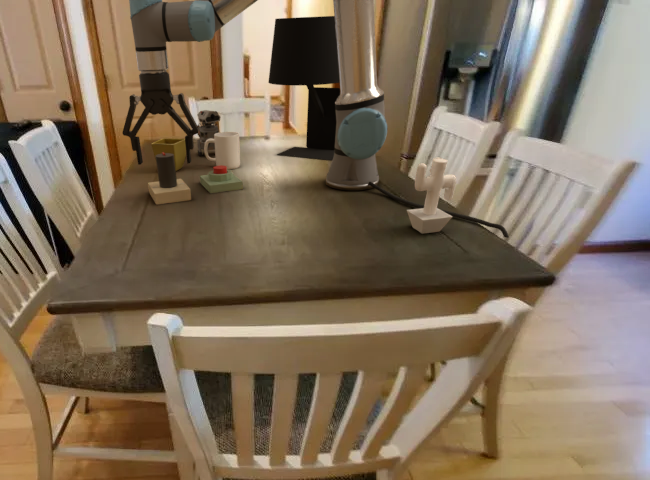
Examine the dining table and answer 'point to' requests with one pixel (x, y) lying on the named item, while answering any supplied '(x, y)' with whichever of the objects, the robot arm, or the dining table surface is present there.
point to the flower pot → (171, 150)
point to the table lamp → (309, 77)
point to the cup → (225, 149)
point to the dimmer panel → (169, 192)
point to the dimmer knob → (166, 170)
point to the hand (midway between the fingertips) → (164, 163)
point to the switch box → (221, 182)
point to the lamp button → (220, 169)
